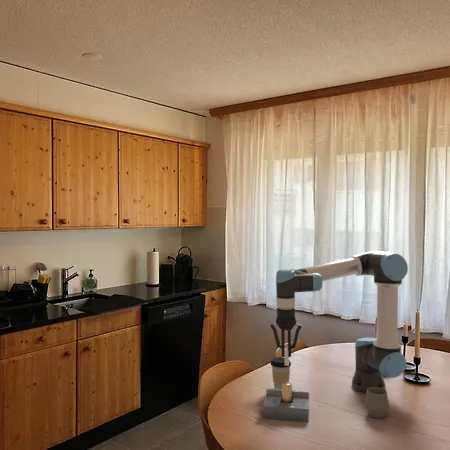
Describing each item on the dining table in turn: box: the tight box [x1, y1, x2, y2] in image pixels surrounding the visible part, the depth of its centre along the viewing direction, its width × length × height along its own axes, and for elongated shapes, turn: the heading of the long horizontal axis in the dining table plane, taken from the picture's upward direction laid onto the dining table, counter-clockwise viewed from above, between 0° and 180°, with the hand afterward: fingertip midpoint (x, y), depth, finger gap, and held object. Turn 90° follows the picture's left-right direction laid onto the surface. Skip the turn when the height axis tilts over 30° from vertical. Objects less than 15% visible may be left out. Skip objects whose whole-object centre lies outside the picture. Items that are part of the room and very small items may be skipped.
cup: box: [364, 387, 390, 419], centre depth 181 cm, size 10×9×10 cm
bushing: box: [282, 381, 293, 403], centre depth 184 cm, size 4×4×12 cm
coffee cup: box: [270, 356, 292, 389], centre depth 206 cm, size 9×9×15 cm
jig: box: [262, 387, 310, 423], centre depth 184 cm, size 18×14×7 cm
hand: (286, 364), depth 184 cm, fingers closed
